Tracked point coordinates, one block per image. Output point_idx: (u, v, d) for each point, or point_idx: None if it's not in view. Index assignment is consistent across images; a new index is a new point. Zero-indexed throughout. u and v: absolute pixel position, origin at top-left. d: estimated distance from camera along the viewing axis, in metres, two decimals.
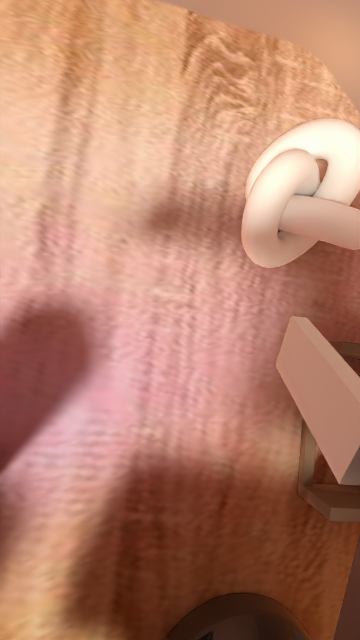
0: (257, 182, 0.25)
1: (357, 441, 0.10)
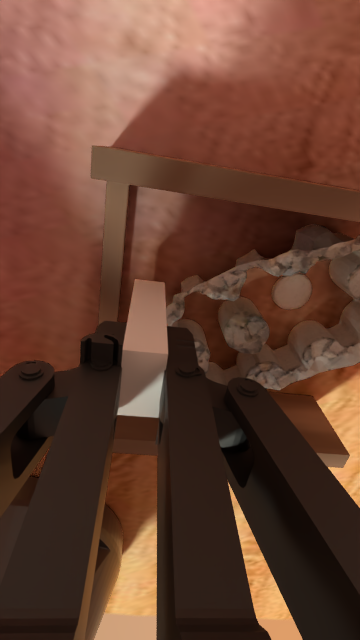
0: None
1: None
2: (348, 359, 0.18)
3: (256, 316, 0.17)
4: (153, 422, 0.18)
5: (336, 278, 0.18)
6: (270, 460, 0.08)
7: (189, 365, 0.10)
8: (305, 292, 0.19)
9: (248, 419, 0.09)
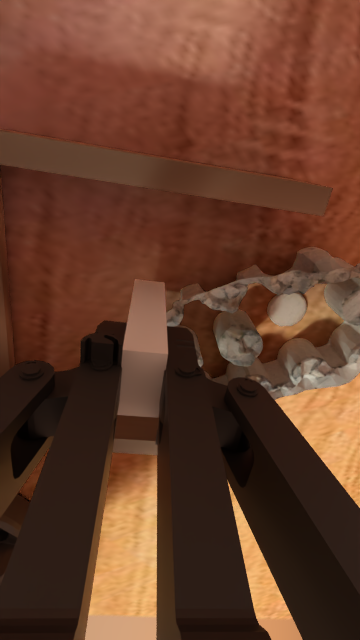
0: None
1: None
2: (335, 380, 0.19)
3: (252, 330, 0.17)
4: None
5: (330, 300, 0.19)
6: (270, 460, 0.08)
7: (189, 365, 0.10)
8: (300, 311, 0.20)
9: (248, 419, 0.09)
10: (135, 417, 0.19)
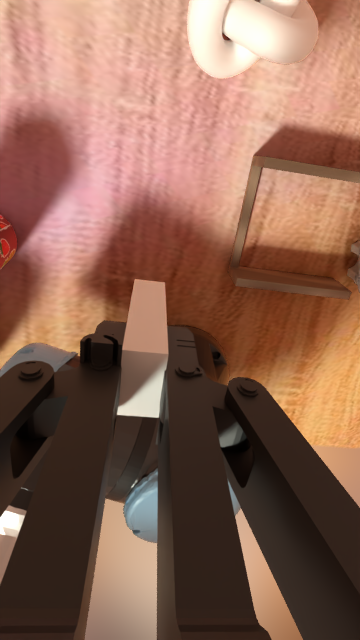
0: None
1: None
2: None
3: None
4: (263, 278, 0.41)
5: None
6: (270, 460, 0.08)
7: (189, 365, 0.10)
8: None
9: (248, 419, 0.09)
10: (300, 281, 0.42)
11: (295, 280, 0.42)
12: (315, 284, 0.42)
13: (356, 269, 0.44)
